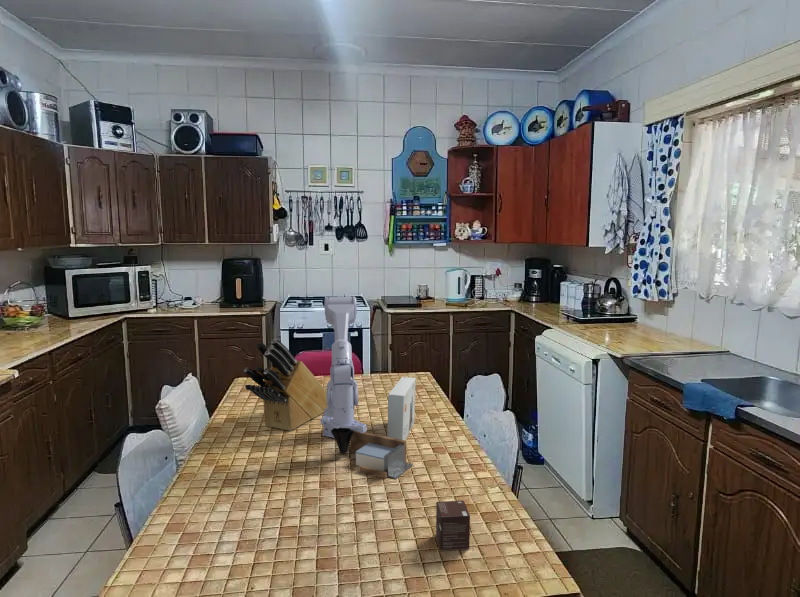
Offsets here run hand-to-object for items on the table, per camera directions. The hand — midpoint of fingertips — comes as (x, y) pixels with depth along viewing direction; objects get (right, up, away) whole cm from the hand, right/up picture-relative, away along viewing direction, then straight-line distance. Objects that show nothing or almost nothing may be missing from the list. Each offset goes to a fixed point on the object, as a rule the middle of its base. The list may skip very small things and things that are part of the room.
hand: (343, 452), depth 144 cm
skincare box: (+17, 0, +18) cm, 25 cm away
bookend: (+16, -2, -8) cm, 18 cm away
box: (+27, -6, -40) cm, 49 cm away
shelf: (+7, -2, -3) cm, 8 cm away
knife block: (-21, +1, +29) cm, 36 cm away
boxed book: (+10, -2, -4) cm, 11 cm away
